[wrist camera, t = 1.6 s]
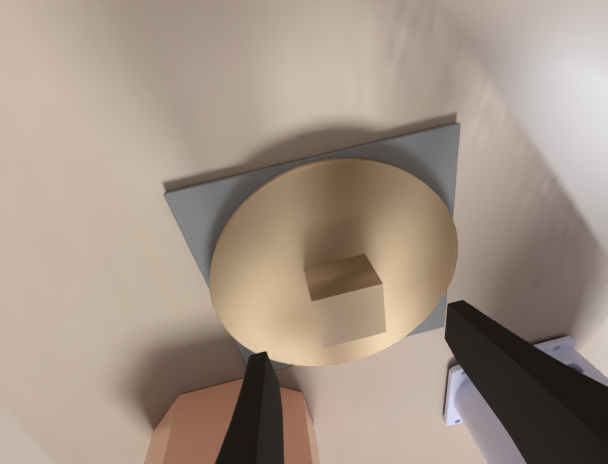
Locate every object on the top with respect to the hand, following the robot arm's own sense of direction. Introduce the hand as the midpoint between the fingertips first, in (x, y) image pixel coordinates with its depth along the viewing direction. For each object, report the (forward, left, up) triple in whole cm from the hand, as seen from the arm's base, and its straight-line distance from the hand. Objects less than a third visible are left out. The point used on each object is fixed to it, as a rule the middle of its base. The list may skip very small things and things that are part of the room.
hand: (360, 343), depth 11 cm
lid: (0, 0, -4) cm, 4 cm away
